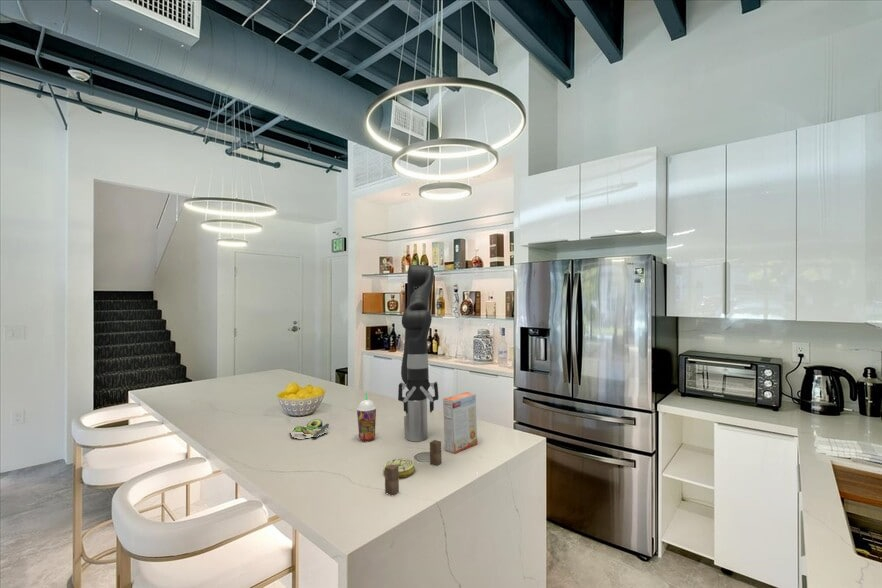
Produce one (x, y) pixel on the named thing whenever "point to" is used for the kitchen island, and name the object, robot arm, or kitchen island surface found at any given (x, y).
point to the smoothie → (366, 419)
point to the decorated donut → (402, 467)
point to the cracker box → (460, 422)
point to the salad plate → (313, 428)
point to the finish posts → (392, 470)
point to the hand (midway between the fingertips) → (418, 412)
